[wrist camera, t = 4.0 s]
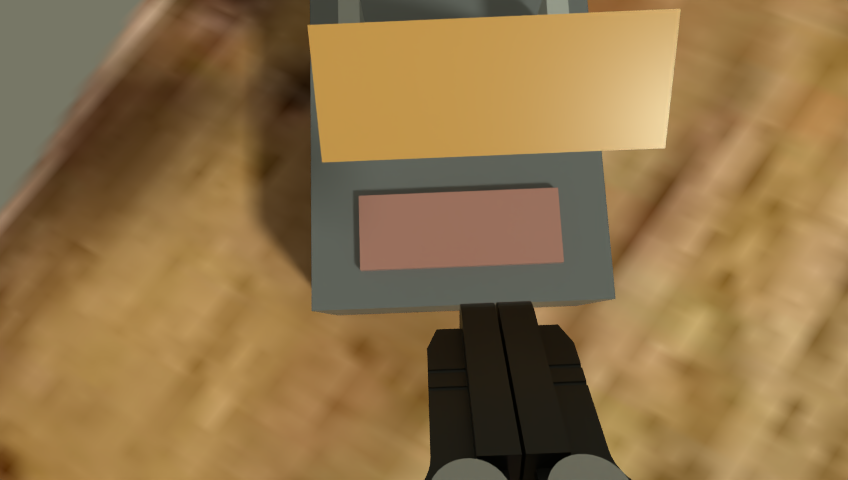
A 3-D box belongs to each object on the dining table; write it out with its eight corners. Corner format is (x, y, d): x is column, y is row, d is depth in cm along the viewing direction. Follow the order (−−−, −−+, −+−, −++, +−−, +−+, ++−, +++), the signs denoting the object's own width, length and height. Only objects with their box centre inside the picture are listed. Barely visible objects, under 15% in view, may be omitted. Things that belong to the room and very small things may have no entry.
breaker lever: (372, 28, 23) (307, 25, 10) (529, 21, 23) (680, 8, 9) (376, 88, 24) (321, 162, 10) (527, 82, 24) (664, 148, 10)
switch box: (332, -44, 31) (292, -194, 22) (546, -54, 31) (592, -208, 22) (337, 315, 28) (293, 307, 19) (576, 305, 28) (643, 293, 19)
